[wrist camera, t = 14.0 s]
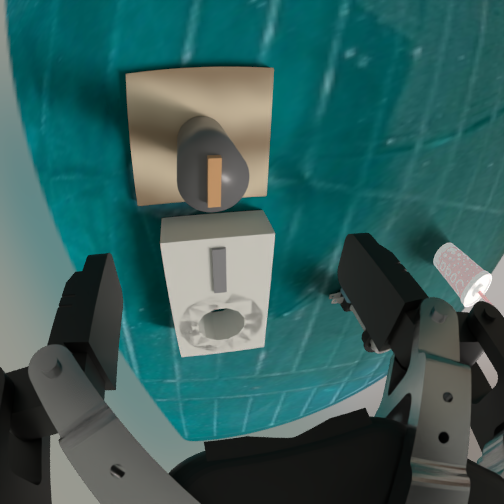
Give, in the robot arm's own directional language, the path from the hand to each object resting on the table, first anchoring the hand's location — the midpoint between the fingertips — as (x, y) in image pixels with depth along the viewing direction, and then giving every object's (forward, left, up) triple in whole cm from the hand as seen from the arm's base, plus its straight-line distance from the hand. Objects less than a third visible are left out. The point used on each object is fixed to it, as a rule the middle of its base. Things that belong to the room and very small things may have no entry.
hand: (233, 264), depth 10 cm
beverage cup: (+17, +36, -19) cm, 44 cm away
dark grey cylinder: (0, 0, -18) cm, 18 cm away
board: (0, 0, -19) cm, 19 cm away
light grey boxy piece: (+16, +1, -19) cm, 25 cm away
